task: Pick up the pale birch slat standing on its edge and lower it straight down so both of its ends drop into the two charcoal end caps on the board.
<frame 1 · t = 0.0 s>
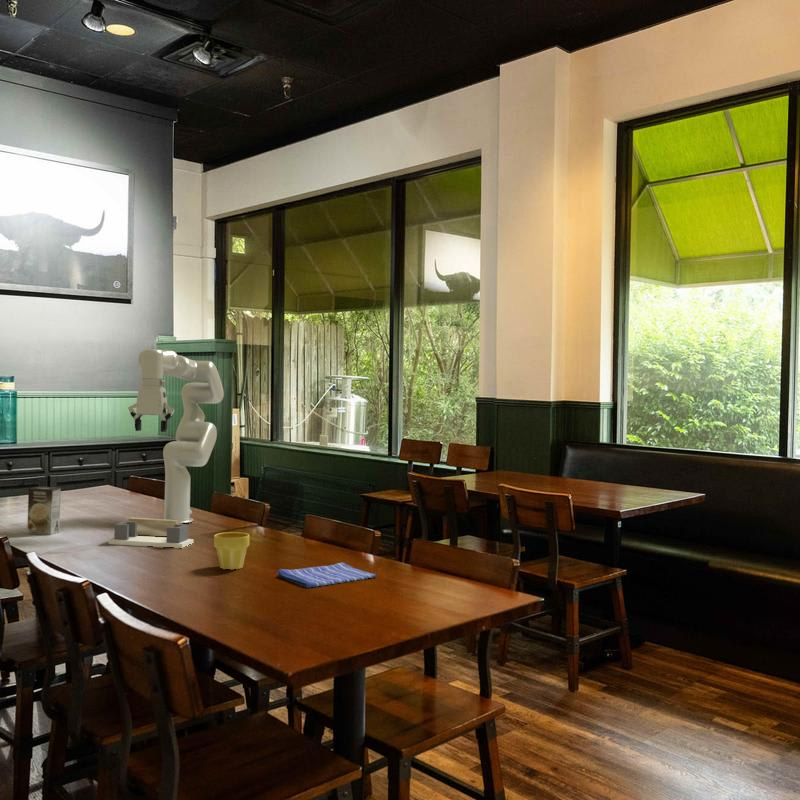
hand: (150, 431, 290), 37 cm above the table, tool pointing down, fingers open, 9 cm apart
slat: (153, 536, 286), on the table
end cap board: (151, 543, 271), on the table
plant pot: (231, 568, 239), on the table
coffee box: (43, 533, 285), on the table
dish towel: (325, 579, 231), on the table
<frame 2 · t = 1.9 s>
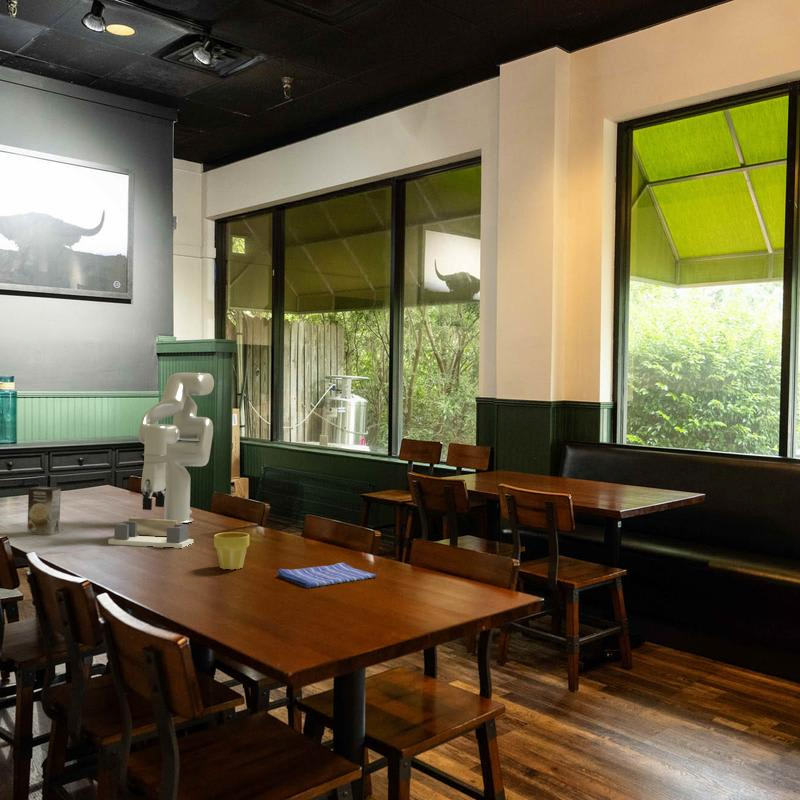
hand: (153, 508, 285), 10 cm above the table, tool pointing down, fingers open, 9 cm apart
nothing on the table moved.
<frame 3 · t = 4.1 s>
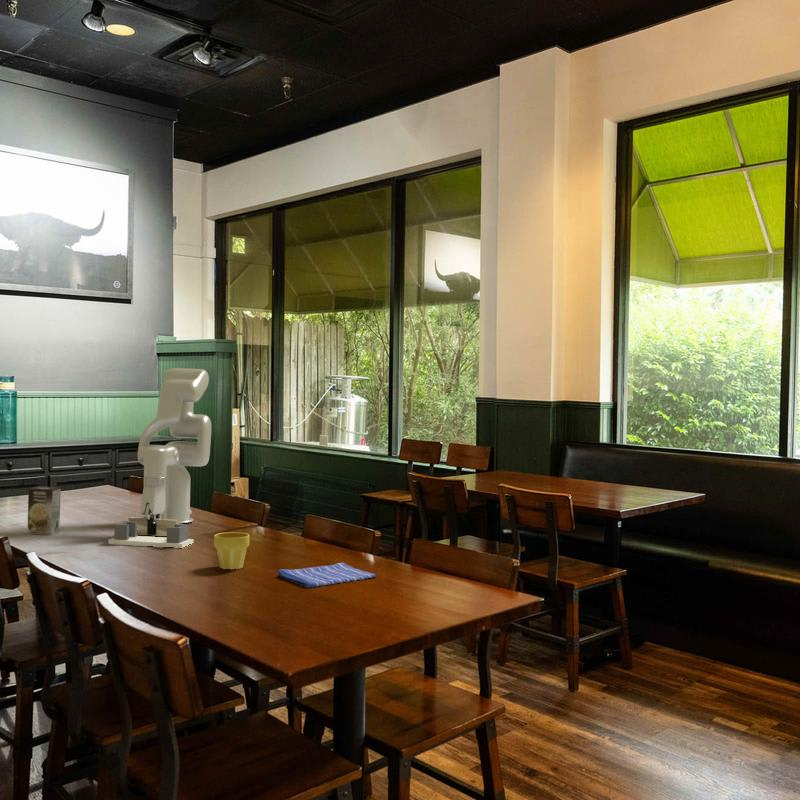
hand: (153, 533, 286), 1 cm above the table, tool pointing down, fingers closed on slat, 2 cm apart
slat: (153, 535, 286), on the table, touching gripper
everything else where it was.
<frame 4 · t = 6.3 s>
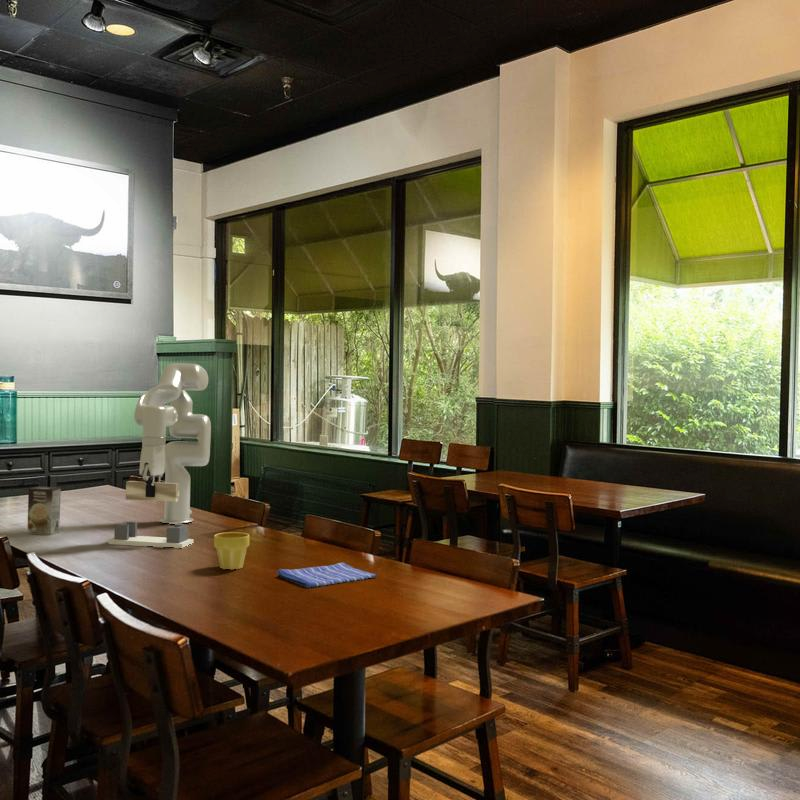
hand: (152, 496, 273), 16 cm above the table, tool pointing down, fingers closed on slat, 2 cm apart
slat: (152, 500, 273), point 14 cm above the table, touching gripper
everything else where it was.
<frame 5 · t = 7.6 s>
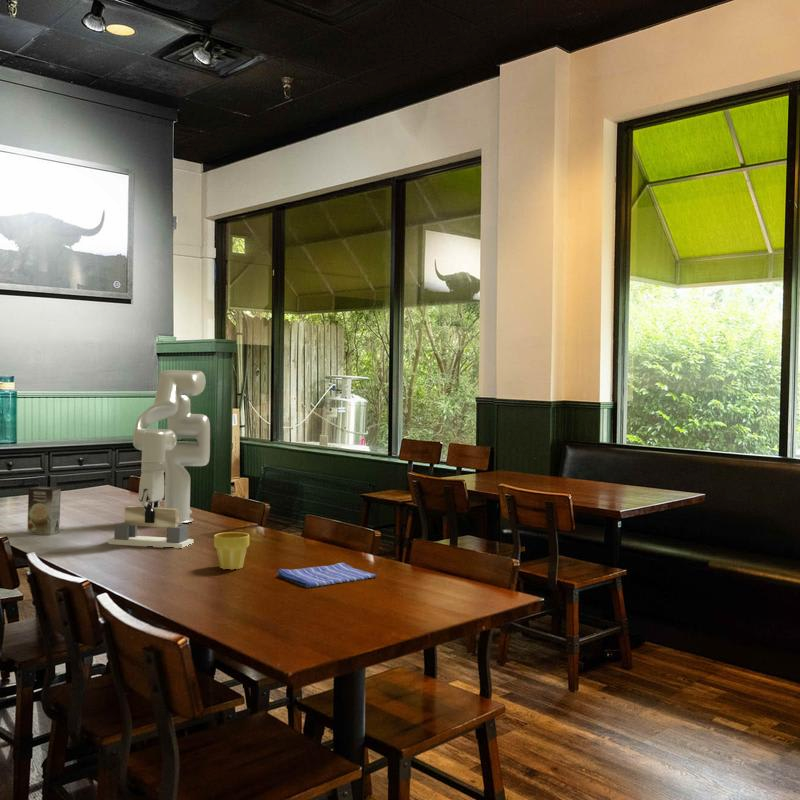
hand: (151, 521, 271), 7 cm above the table, tool pointing down, fingers closed on slat, 2 cm apart
slat: (151, 525, 271), point 6 cm above the table, touching gripper
everything else where it was.
when the fingers open (3 cm above the table, at t = 8.7 s): slat stays where it is, resting on end cap board.
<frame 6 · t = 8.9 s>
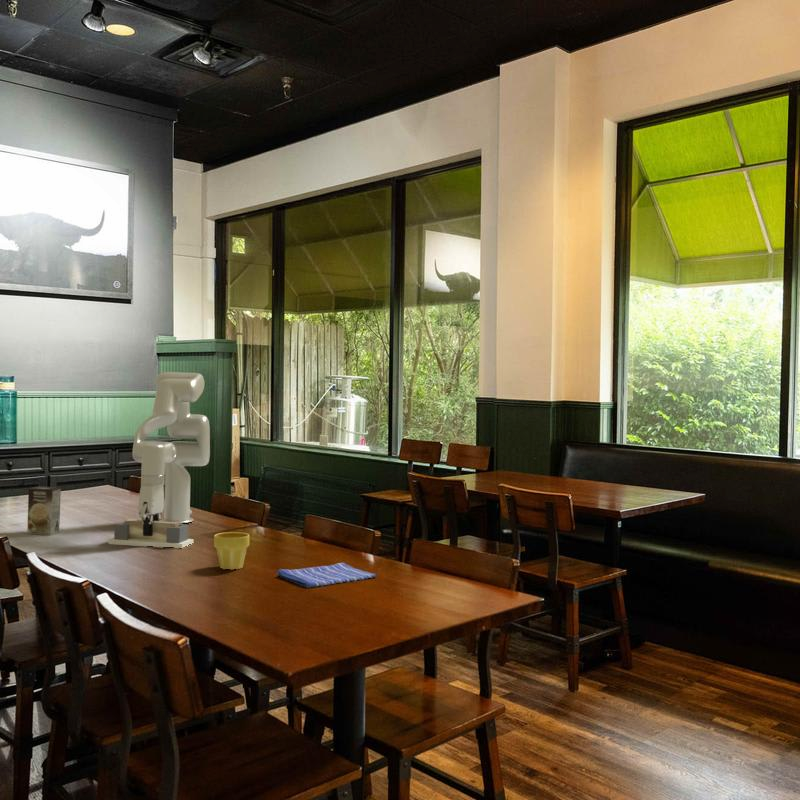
hand: (151, 533, 271), 3 cm above the table, tool pointing down, fingers open, 4 cm apart
slat: (151, 539, 271), point 1 cm above the table, touching end cap board
everything else where it was.
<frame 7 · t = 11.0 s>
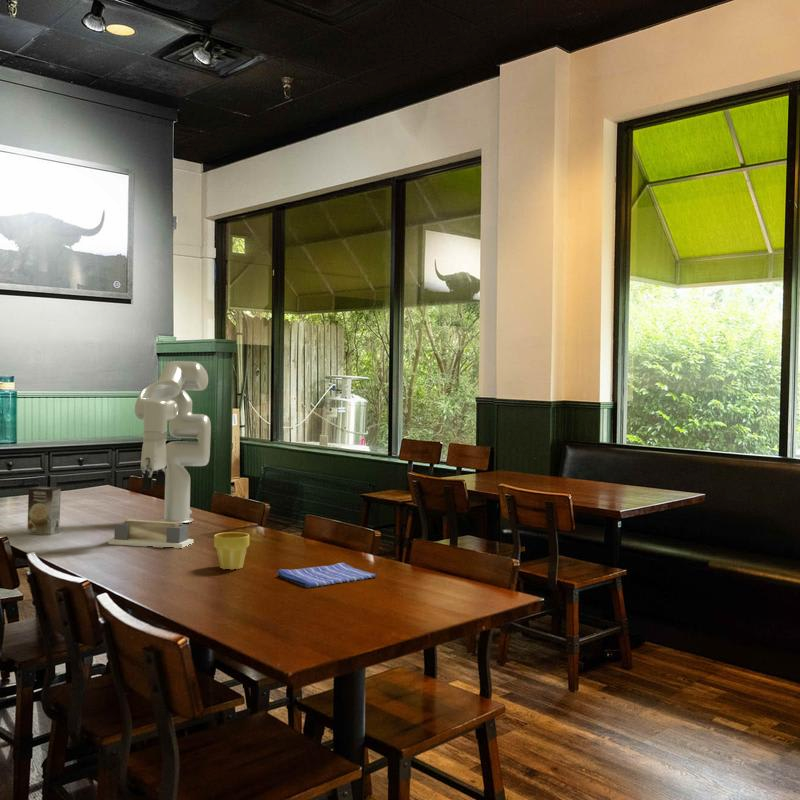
hand: (154, 487, 272), 19 cm above the table, tool pointing down, fingers open, 9 cm apart
nothing on the table moved.
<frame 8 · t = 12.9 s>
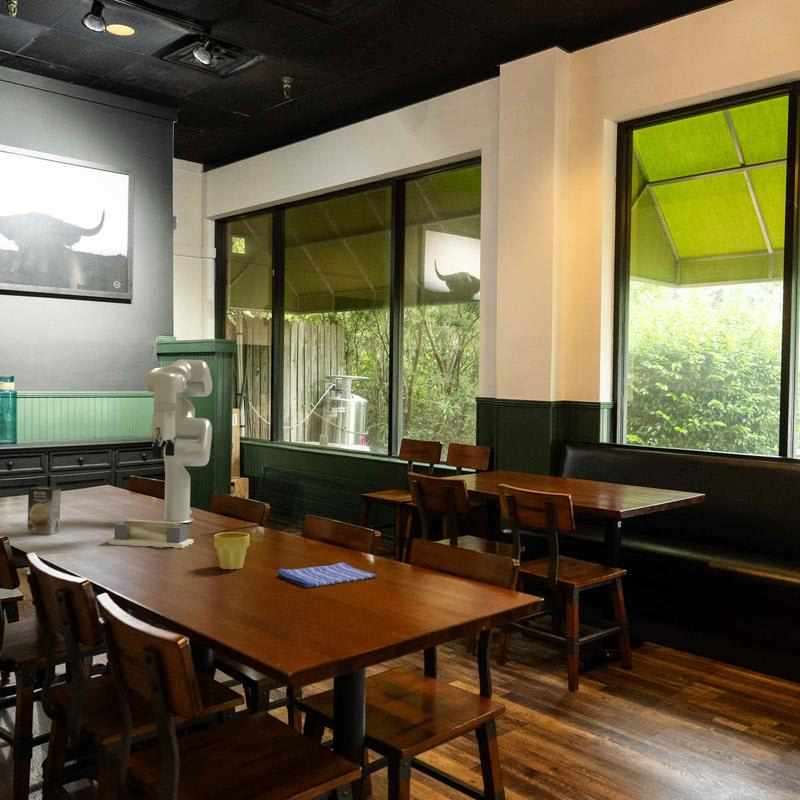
hand: (163, 456, 283), 28 cm above the table, tool pointing down, fingers open, 9 cm apart
nothing on the table moved.
at the end: slat 0.1 cm off-centre on the end cap board, point 1.5 cm above the end cap board's base; slat tilted 0°; the gripper is holding nothing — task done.
